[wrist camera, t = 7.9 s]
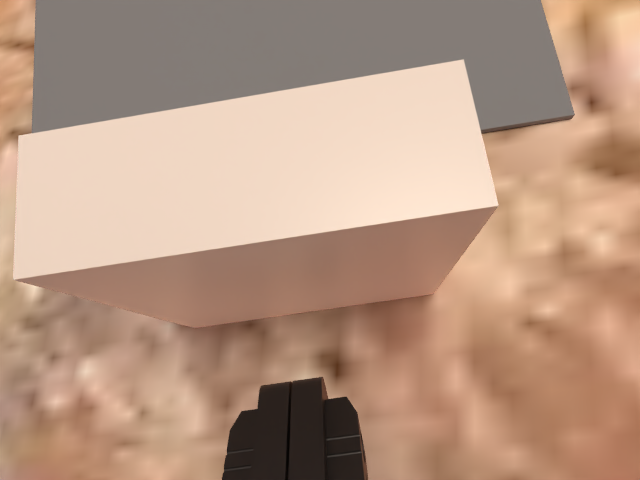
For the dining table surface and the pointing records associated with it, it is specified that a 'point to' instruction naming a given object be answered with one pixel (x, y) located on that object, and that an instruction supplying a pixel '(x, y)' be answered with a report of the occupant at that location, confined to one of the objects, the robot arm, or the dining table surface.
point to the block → (260, 200)
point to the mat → (284, 53)
